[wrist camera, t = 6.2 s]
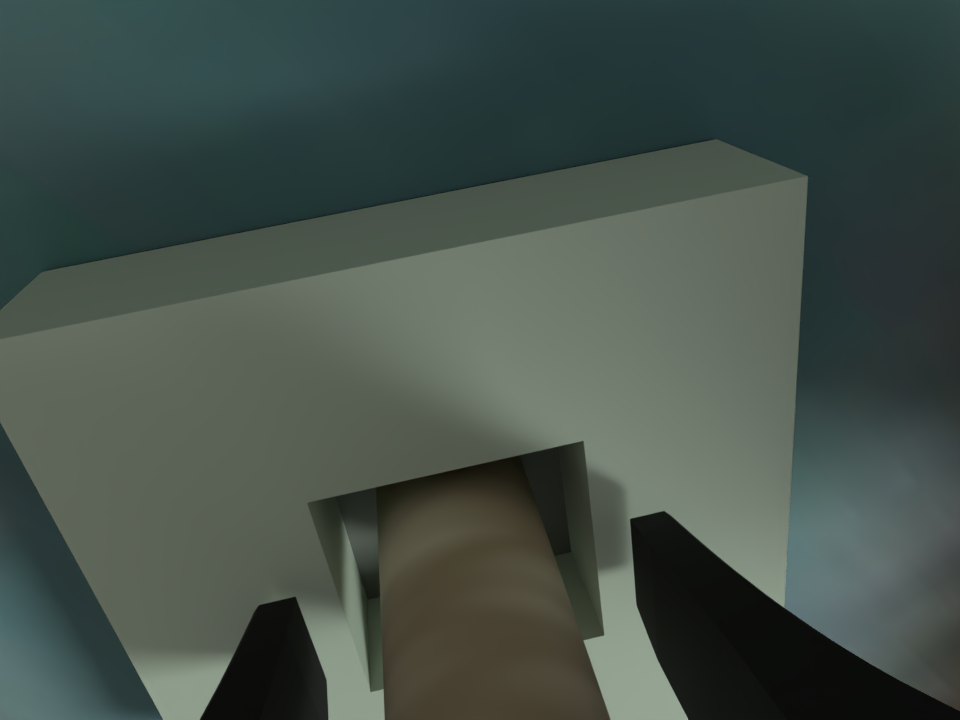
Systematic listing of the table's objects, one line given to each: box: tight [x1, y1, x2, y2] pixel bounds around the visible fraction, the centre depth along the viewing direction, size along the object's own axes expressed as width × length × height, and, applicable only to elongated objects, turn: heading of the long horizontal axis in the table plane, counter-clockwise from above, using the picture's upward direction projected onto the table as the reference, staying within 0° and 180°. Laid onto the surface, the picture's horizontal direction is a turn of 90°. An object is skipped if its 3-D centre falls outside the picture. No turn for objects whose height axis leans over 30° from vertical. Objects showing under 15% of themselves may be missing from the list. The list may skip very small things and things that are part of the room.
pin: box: [376, 455, 611, 720], centre depth 12 cm, size 3×3×7 cm
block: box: [0, 139, 808, 720], centre depth 14 cm, size 12×12×3 cm
